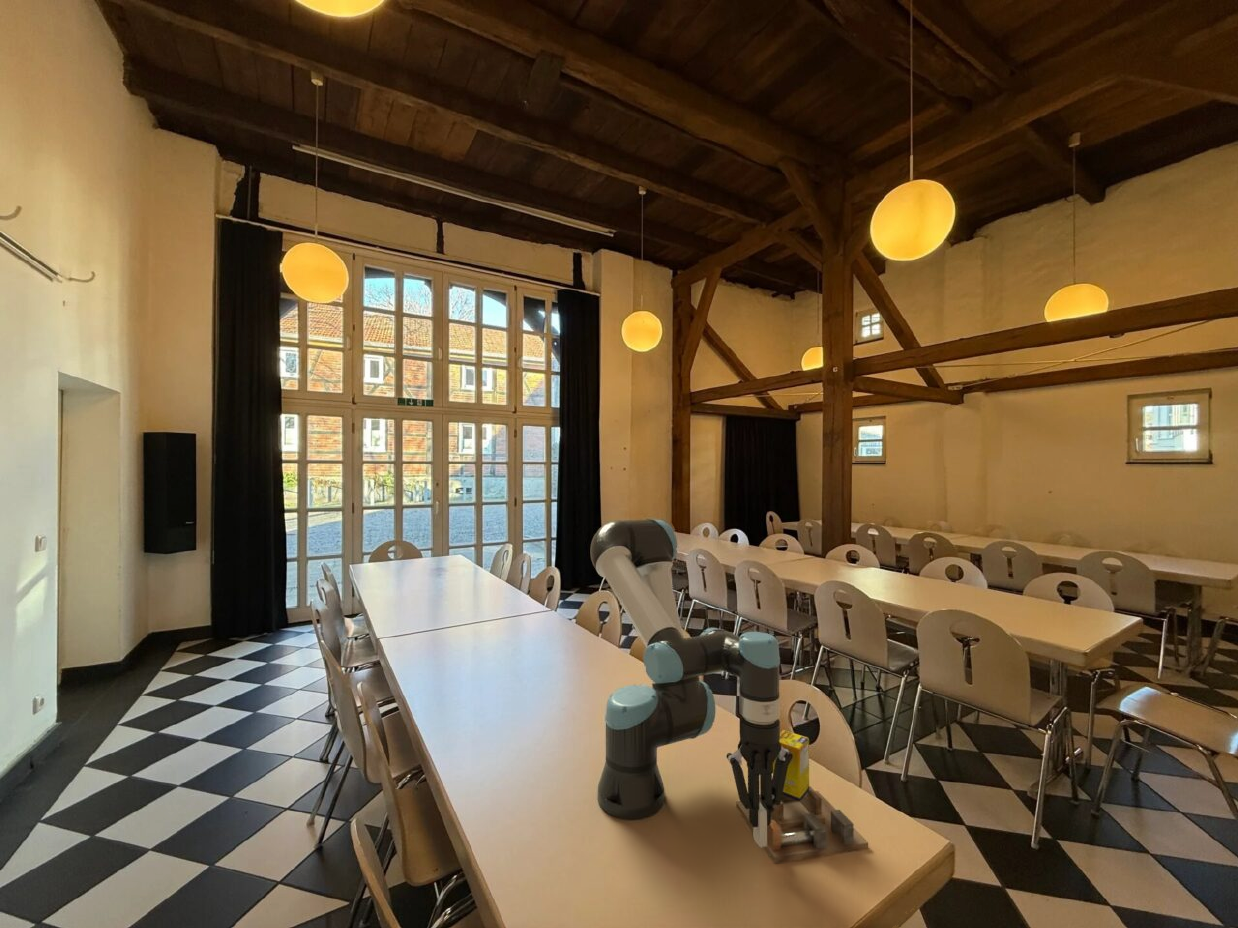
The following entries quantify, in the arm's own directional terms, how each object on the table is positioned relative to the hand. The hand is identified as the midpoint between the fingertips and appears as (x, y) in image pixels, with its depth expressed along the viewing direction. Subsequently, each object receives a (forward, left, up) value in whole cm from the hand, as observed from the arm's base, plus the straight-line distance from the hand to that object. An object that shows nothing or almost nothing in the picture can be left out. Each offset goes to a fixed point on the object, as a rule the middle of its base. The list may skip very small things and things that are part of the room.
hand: (760, 841), depth 98 cm
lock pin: (+8, 0, -1) cm, 8 cm away
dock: (+12, +6, -3) cm, 14 cm away
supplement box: (+12, +9, +3) cm, 15 cm away
